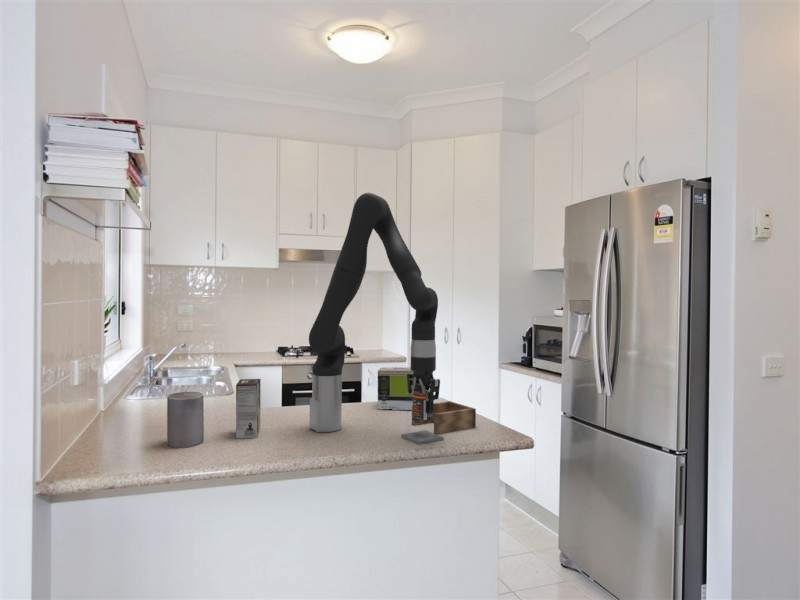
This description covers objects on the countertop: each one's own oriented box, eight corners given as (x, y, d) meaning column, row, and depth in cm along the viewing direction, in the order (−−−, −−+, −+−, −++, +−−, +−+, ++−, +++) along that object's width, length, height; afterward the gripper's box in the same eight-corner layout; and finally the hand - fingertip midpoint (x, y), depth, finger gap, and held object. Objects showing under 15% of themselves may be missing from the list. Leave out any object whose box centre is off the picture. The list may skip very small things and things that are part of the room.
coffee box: (239, 430, 168) (239, 378, 168) (260, 429, 169) (261, 378, 169) (235, 438, 159) (235, 384, 159) (258, 438, 160) (258, 383, 160)
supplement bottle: (408, 421, 162) (408, 383, 162) (423, 418, 166) (423, 381, 165) (421, 425, 157) (422, 386, 157) (436, 422, 161) (437, 384, 161)
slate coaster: (418, 444, 155) (418, 441, 155) (401, 436, 163) (401, 434, 163) (443, 439, 160) (443, 437, 160) (425, 432, 168) (425, 430, 168)
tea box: (419, 405, 207) (420, 366, 207) (418, 411, 197) (418, 370, 197) (380, 404, 209) (381, 365, 208) (376, 410, 199) (377, 369, 198)
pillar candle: (174, 438, 159) (173, 387, 158) (208, 437, 160) (207, 387, 159) (161, 448, 149) (161, 394, 149) (198, 448, 150) (198, 393, 149)
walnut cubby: (436, 434, 167) (436, 414, 167) (411, 424, 178) (411, 406, 178) (475, 427, 175) (475, 408, 175) (449, 418, 186) (449, 401, 186)
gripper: (448, 356, 157) (447, 414, 157) (419, 351, 169) (419, 405, 170) (427, 358, 153) (426, 417, 153) (399, 353, 165) (398, 408, 165)
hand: (422, 411), depth 161 cm, fingers closed on supplement bottle, 6 cm apart
